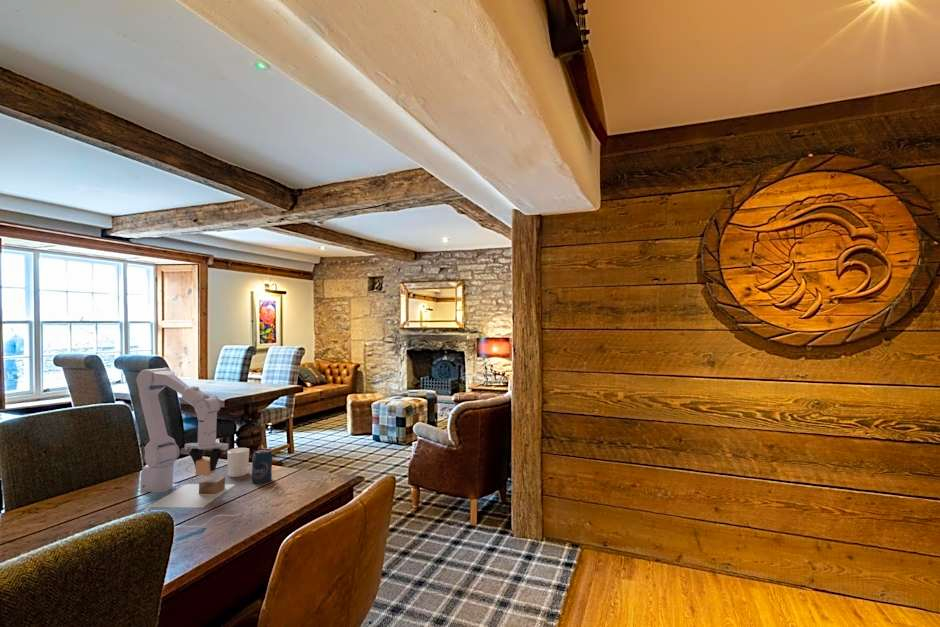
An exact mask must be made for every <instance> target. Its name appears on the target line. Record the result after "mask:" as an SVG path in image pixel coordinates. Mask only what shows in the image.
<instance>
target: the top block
mask: <svg viewBox="0 0 940 627" xmlns="http://www.w3.org/2000/svg"><path fill="white" fill-rule="evenodd" d="M214 473H216V469H215V470H213V471H211V470H210V456H209V457H208V456H207V457H203V456H202V458H201V459H199V460H197V461H196V468H195V476H202V477H203V476H205V477H206V476H207V477H209V476H210V475H212V474H214Z"/></svg>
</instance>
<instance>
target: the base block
mask: <svg viewBox="0 0 940 627" xmlns="http://www.w3.org/2000/svg"><path fill="white" fill-rule="evenodd" d="M198 484H199V494H217V493H218V492H220V491H221V490H223V489H224V488H225V484H226V477H225V476H207V477H206V478H204V479H203V480H201V481H199V482H198Z"/></svg>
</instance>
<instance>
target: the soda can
mask: <svg viewBox="0 0 940 627" xmlns="http://www.w3.org/2000/svg"><path fill="white" fill-rule="evenodd" d="M251 465H252V466H251V481H252V483H253V484H255V485H258V484H259V485H260V484H267V483H269V482H270V481H271V480H272V477H273V476H272V473H273V471H272V470H273V454H272V450H271V449H269V448H261V449H256V450H255V451H254V453H253V455H252V464H251Z"/></svg>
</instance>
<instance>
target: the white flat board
mask: <svg viewBox="0 0 940 627" xmlns="http://www.w3.org/2000/svg"><path fill="white" fill-rule="evenodd" d="M235 485H237V484H235V483H234V484H233V483H232V484H231V483H225V488H224V489H223V490H221V491H220V492H218V493H217V494H199V483H186V484H184V485H183V486H180V487H179V488H178V489H175V490H174V491H172V492H171V493H169V494H166V495H165V496H164V497H162V498H160V499H158V500H157V501H155V502H152V503H151V504H150V505H148V506H147V508H174V509H175V508H181V509H182V508H184V509H185V508H189V509H190V508H191V509H192V508H196V509H197V508H201V509H202V508H205V506H207V505H209V504H210V503H211V502H213V501H214V500H216V499H217V498H219V497H220V496H221V495H223V494H224V493H226V492H227V491H229V490H230V489H231V488H233V487H234V486H235Z"/></svg>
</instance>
